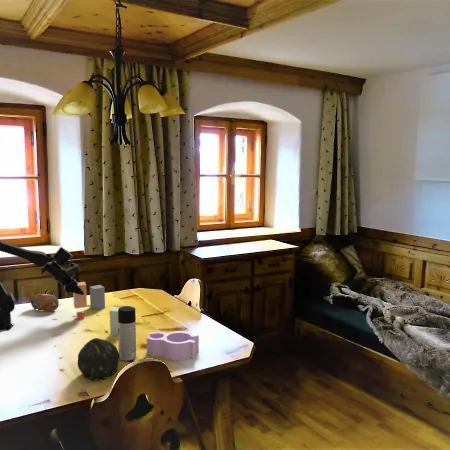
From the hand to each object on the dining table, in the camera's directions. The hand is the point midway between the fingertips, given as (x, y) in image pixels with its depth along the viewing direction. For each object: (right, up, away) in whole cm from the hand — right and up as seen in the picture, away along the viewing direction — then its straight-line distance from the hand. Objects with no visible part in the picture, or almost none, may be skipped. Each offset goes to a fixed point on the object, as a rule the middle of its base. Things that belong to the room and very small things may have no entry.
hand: (82, 292), depth 224 cm
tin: (-23, -11, +12) cm, 28 cm away
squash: (+23, -22, -55) cm, 64 cm away
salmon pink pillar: (-1, -7, 0) cm, 7 cm away
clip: (+47, -19, -37) cm, 63 cm away
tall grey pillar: (+3, -10, +17) cm, 20 cm away
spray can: (+30, -20, -41) cm, 55 cm away
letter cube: (-1, -13, +1) cm, 13 cm away
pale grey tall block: (+21, -16, -17) cm, 31 cm away
